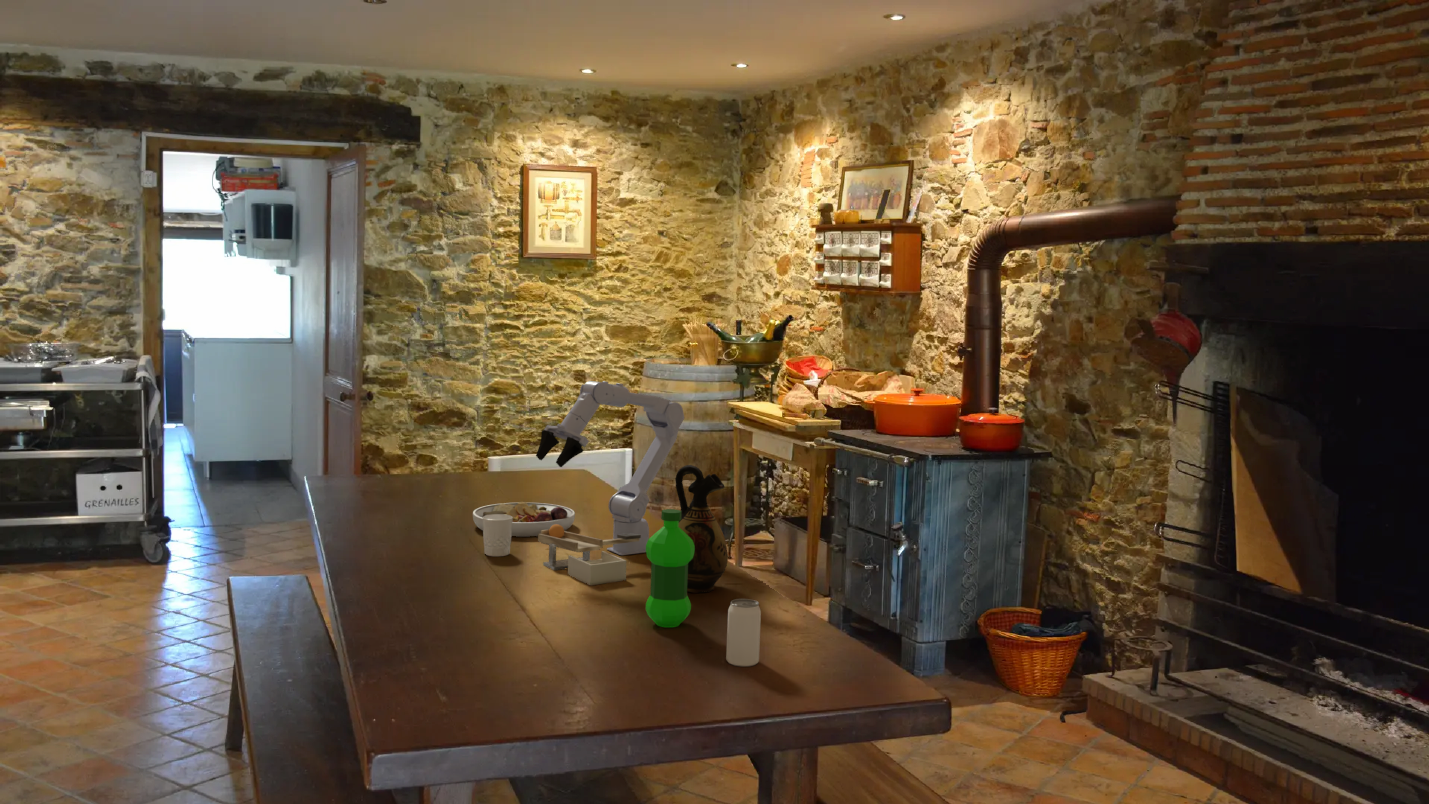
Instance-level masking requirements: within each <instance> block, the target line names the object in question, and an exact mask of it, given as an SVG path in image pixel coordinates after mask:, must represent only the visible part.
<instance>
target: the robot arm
mask: <svg viewBox="0 0 1429 804" xmlns="http://www.w3.org/2000/svg"><path fill="white" fill-rule="evenodd" d="M576 399H577V400H576V401H575V403H574V404H573V406H572V407H571V409H570V410H569V411H568V413H567V414H566V416H565V418H564V419H563V420H562V422H560V423H557V425H549V424H547V425H546V426H545V428H544V429H542V430H541V434H540V435H541V436H540V443H539V446H538V449H537V452H536V453H535V457H536V458H538V460H539V461H542V460H544V459H545V457H546V456H547V455H548V453H549V452H550V451H551V450H552V449H553V448H555V446H557V445H558V444H559V443H560V441H559V440H558V439H557V438H560V439H562V440H565V444H564V446H563V449H562V451H561V452H560V454H559V455H558V457H557V459H556V461H555V464H556V465H558V467H559V468H563V466H564V465H566V464H567V463H568V462H569V461H571V459H574V458H575V457H576V456H578V455H580V454H582V453H583V452H584V449H583V447H584V448H586V447H587V445H588V443H589V442H590V441H589V439H588V438H587V437H586V436H583V435H582V432H583V431H584V430H585V428H586V427H587V425H588V424H589V423H590V421H591V419H592V418H593V416H594V414H596V412H597V411H598V409H599V407H600V406H601V405H602V406H604V405H606V406H609V407H618V408H624V407H626V406H627V405H628V404H629V405H633V406H639V407H643V412H645V415H646V418H647V419H648V422H649V424H650V426H651V428H652V430H653V432H654V434H655V437H654V438H653V441H652V442H651V444H650V445H649V447H648V449H647V451H646V453H645V454H644V456H643V458H642V460H641V461H640V463H639V464H638V466H637V468H636V470H635V472H634V474H633V475H632V476H631V478H630V481H628V483H627V484H624V485H622V486H621V487H619V488H618V490H617V491H616V493H615V494H613V495H612V496H611V497H610V498H609V501H608V504H607V505H608V510H609V513H611V515H612V519H613V530H612V531H613V534H612V535H613V536H612V539H617V535H618V534H627V533H634V534H639V535H641V538H639V541H636V542H628V543H620V544H612V547H607V548H606V550H607V551H610V552H612V553H615V554H617V555H619V556H628V555H635V554H643V553H646V544H647V542H648V539H649V538H650V527H649V526H650V525H649V523H648V521H647V520H646V519H645V518H644V516H645V514H646V513H647V506H648V504H649V502H650V498H649V495H648V494H647V493H648V492H647V491H648V490H649V489H650V488H651V485H652V483H653V481H654V480H655V477H657V474H658V472H659V471H660V469H661V468H662V466H663V463H664V462H665V461H666V459H667V456H668V455H669V454H670V451H671V449H673V446H674V444H675V443H676V441H677V439H678V438H677V437H678V434H679V429H680V427H681V425H682V424H683V422H684V421H685V414H684V408H683V406H682V405H681V404H680V403H679V402H676V401H673V402H672V400H670V399H668V398H663V397H661V396H656V395H649V394H642V393H635V392H630V390H629V388H628V387H626V386H624V384H623V383H619V382H616V383H615V384H613V383H609V381H606V380H605V381H604V380H603V381H596V380H595V381H593V380H588V381H586V382H585V383H584V384H581V386H580V388H579V395H578V397H577V398H576Z"/></svg>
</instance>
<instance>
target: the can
mask: <svg viewBox="0 0 1429 804" xmlns="http://www.w3.org/2000/svg"><path fill="white" fill-rule="evenodd" d="M759 605H760V602H759V601H757V600H754V599H749V598H736V599H733V600H731V601H730V605H729V607H728V609H727V626H726V627H727V631H726V655H725V656H726V657H725V659H726V661H727V662H728V664H729V665H731V666H735V667H740V668H745V667H746V668H747V667H748V668H749V667H753V666H756V665H757V664H758V663H759V661H760V642H761V638H760V637H761V618H762V615H761V614H762V611H761V608H760V606H759Z"/></svg>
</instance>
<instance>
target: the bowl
mask: <svg viewBox="0 0 1429 804" xmlns="http://www.w3.org/2000/svg"><path fill="white" fill-rule="evenodd" d="M491 514H504V515H510V516H512V517H513V520H512V536H516V538H530V536H536V537H538V534H541V530H549V529H550V527H551V526H552V525H555V524H558V525H561V526H562V527H563V528H564V531H567V530H569V528H571V526H572V525H573V524H574V521H575V519H576V512H575V511H574V509H571V508H570V507H567V506H563V505H558V504H552V503H541V502H526V501H525V500H523V501H519V502H506V503H505V502H504V503H495V504H489V505H484V506H480V507H478V508H475V509H474V510H473V511H472V519H473V522H474V525H475V526H476V527H477V528H478V529H480V530H481V531H483V516H486V515H491ZM512 536H511V537H512Z"/></svg>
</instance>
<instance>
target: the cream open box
mask: <svg viewBox="0 0 1429 804" xmlns="http://www.w3.org/2000/svg"><path fill="white" fill-rule="evenodd" d="M600 554H601V555H600V556H601V557H600V558H598V559H590V560H589V561H583V560H580V559H578V558H579V557H576V556H574V555H569V554H568V556H567V559H568V569H567V575H568V574H569V575H570V577H571V576H572V578H573V577H575V578H576V580H578V581H579V582H582V583H585V584H586V583H587V584H586V585H588V586H595V585H601V584H608V583H609V584H610V583H616V582H622V581H623V580H624V581H627V560H626V559H623V558H621V557H618V556H616V555H614V554H611V553H609V552H607V551H604V550H601V553H600ZM569 575H568V576H569ZM575 578H574V579H575ZM624 581H623V582H624Z"/></svg>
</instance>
